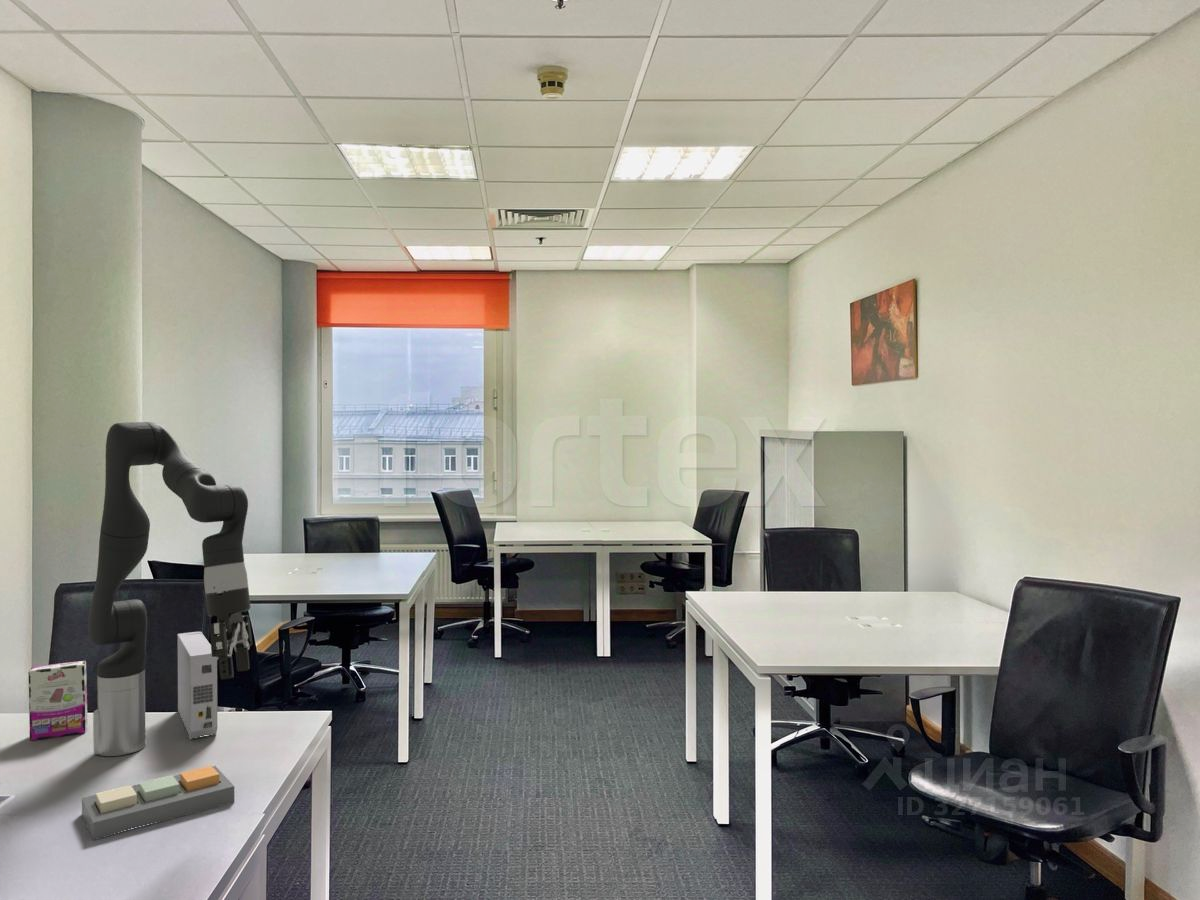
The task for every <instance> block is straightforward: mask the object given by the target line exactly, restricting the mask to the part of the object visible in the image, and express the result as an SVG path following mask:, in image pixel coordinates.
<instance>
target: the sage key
mask: <svg viewBox="0 0 1200 900" xmlns="http://www.w3.org/2000/svg"><path fill="white" fill-rule="evenodd" d="M173 776H174V775H173V774H171V775H166V776H162V777H159V778H153V779H150V780H145V781H140V782H139V794H140V795H141V797H142V798H143V800H144V802H147V801H151V800H155V799H159V798H163V797H167V796H170V795H174V794H178V793H179V783H178V782H177V780H176V779H175V778H174V777H173Z"/></svg>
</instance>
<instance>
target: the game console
mask: <svg viewBox="0 0 1200 900" xmlns="http://www.w3.org/2000/svg"><path fill="white" fill-rule="evenodd" d="M177 712H178V713H180V714H179V716H180V718H182V719H181V721H182V720H183V721H182V723H183V722H184V724H183V726H184V725H185V726H184V728H185V727H186V729H185V731H186V730H187V731H186V733H187V732H188V734H189V736H188V738H189V737H190V738H195V737H200V736H204V735H211V734H216V735H217V732H218V659H217V658H216V657H212V652H211V642H209V641H208V639H207V638H206V636H205V635H204V634H203V632H202V631H191V632H183V633H182V632H181V633H177ZM188 734H187V735H188Z"/></svg>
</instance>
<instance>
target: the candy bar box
mask: <svg viewBox="0 0 1200 900" xmlns="http://www.w3.org/2000/svg"><path fill="white" fill-rule="evenodd" d="M27 674H28V702H29V703H28V705H29V706H28V707H29V708H28V709H29V710H28V711H29V714H28V716H29V717H28V718H29V722H28V723H29V741H31V742H32V741H38V740H46V739H47V740H48V739H52V738H53V739H54V738H60V737H64V736H65V737H67V736H72V735H79V734H85V733H86V732H87V729H88V698H87V697H88V690H87V688H88V687H87V685H88V683H87V660H81V661H80V660H79V661H71V662H70V661H68V662H62V663H61V662H60V663H54V664H53V663H52V664H45V665H44V664H43V665H36V666H32V667H31V668H30V669H29V671H28V673H27Z"/></svg>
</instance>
